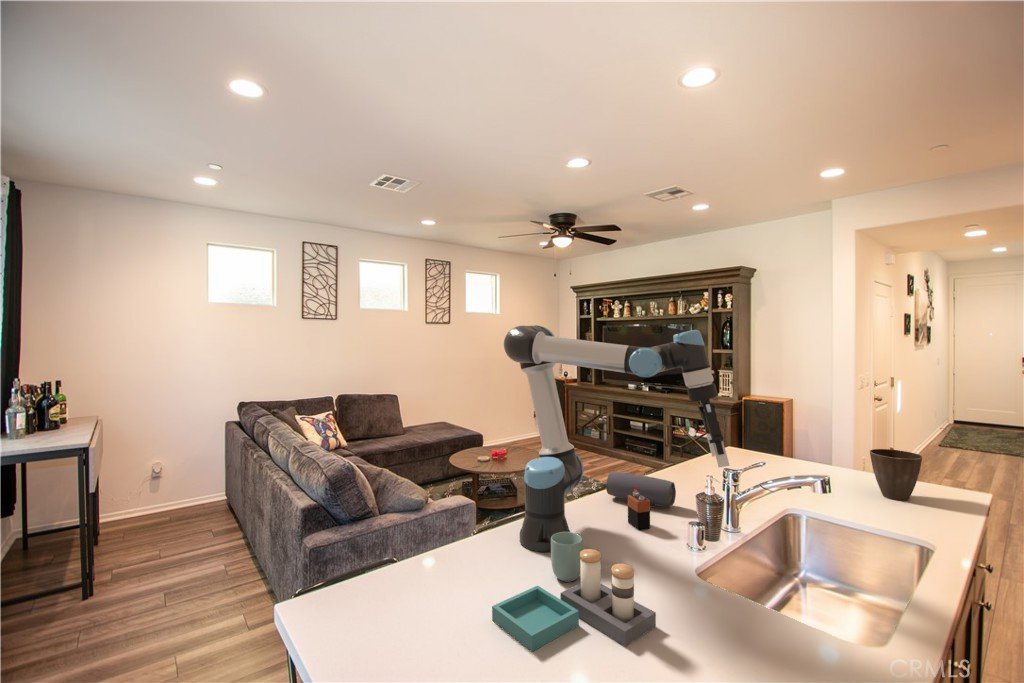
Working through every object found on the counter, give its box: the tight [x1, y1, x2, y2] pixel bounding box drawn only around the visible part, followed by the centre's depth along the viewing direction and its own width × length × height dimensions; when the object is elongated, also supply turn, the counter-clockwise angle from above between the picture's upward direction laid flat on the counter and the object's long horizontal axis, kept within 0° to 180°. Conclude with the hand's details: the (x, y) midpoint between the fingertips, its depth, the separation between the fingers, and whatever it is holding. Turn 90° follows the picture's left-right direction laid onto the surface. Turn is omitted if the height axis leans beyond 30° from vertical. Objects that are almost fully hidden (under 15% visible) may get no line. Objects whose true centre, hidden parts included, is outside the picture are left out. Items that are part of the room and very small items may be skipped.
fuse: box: [580, 548, 602, 604], centre depth 107 cm, size 5×5×12 cm
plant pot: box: [869, 448, 923, 501], centre depth 173 cm, size 15×15×16 cm
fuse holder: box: [560, 582, 657, 648], centre depth 103 cm, size 18×10×3 cm, turn 38°
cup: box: [550, 531, 584, 583], centre depth 120 cm, size 8×8×10 cm
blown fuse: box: [610, 563, 635, 624], centre depth 100 cm, size 5×5×12 cm
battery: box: [627, 492, 651, 531], centre depth 151 cm, size 4×7×10 cm, turn 16°
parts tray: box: [491, 585, 580, 652], centre depth 101 cm, size 13×13×3 cm
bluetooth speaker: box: [605, 471, 677, 507], centre depth 171 cm, size 23×9×10 cm, turn 55°
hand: (720, 460), depth 131 cm, fingers open, 13 cm apart
